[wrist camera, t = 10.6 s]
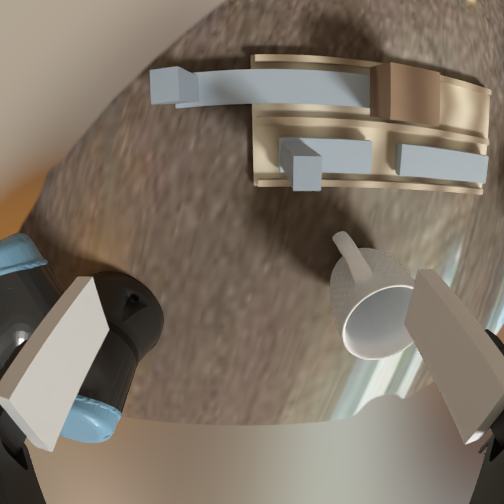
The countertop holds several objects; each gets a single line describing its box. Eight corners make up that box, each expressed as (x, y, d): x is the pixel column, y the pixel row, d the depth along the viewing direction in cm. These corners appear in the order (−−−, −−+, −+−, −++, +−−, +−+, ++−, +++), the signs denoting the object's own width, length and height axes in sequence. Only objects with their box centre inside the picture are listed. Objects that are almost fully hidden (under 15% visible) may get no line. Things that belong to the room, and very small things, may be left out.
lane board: (253, 184, 39) (253, 187, 37) (250, 56, 32) (250, 53, 30) (477, 191, 39) (484, 195, 37) (486, 89, 32) (493, 90, 30)
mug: (292, 238, 42) (307, 292, 30) (363, 195, 40) (405, 235, 28) (339, 312, 48) (361, 373, 36) (401, 277, 45) (438, 330, 33)
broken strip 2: (395, 173, 37) (399, 175, 36) (397, 142, 35) (402, 144, 34) (479, 180, 37) (485, 183, 35) (483, 154, 35) (488, 156, 34)
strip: (178, 108, 34) (148, 110, 23) (177, 75, 32) (146, 65, 22) (422, 115, 33) (475, 124, 23) (422, 85, 32) (476, 85, 21)
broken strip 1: (278, 170, 37) (289, 196, 27) (278, 136, 35) (289, 150, 25) (366, 171, 37) (406, 198, 27) (368, 140, 35) (410, 155, 25)
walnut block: (369, 116, 33) (390, 119, 27) (369, 67, 30) (390, 62, 24) (413, 121, 32) (439, 126, 27) (414, 74, 30) (440, 72, 24)
